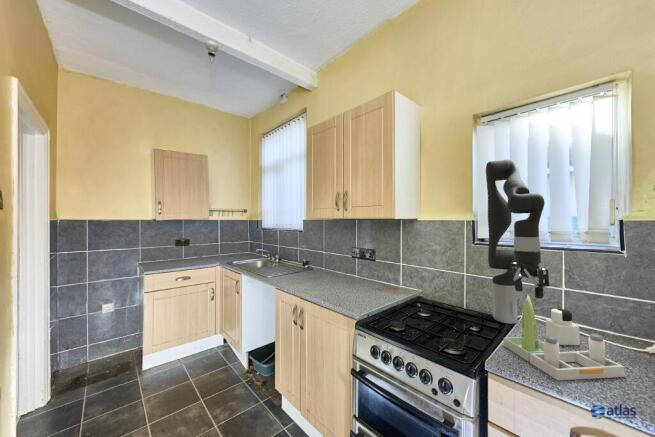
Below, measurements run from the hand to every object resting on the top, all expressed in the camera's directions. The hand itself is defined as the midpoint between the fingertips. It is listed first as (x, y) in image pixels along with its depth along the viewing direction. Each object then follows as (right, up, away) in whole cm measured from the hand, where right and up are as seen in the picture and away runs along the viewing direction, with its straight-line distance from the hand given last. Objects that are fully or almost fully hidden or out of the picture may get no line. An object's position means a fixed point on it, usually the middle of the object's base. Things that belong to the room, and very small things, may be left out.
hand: (528, 294), depth 91 cm
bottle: (-2, -21, -11) cm, 24 cm away
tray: (+1, -21, 0) cm, 21 cm away
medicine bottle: (+19, -21, +8) cm, 29 cm away
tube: (+1, -20, 0) cm, 20 cm away
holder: (+6, -20, -11) cm, 24 cm away
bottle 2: (+13, -20, -11) cm, 27 cm away
